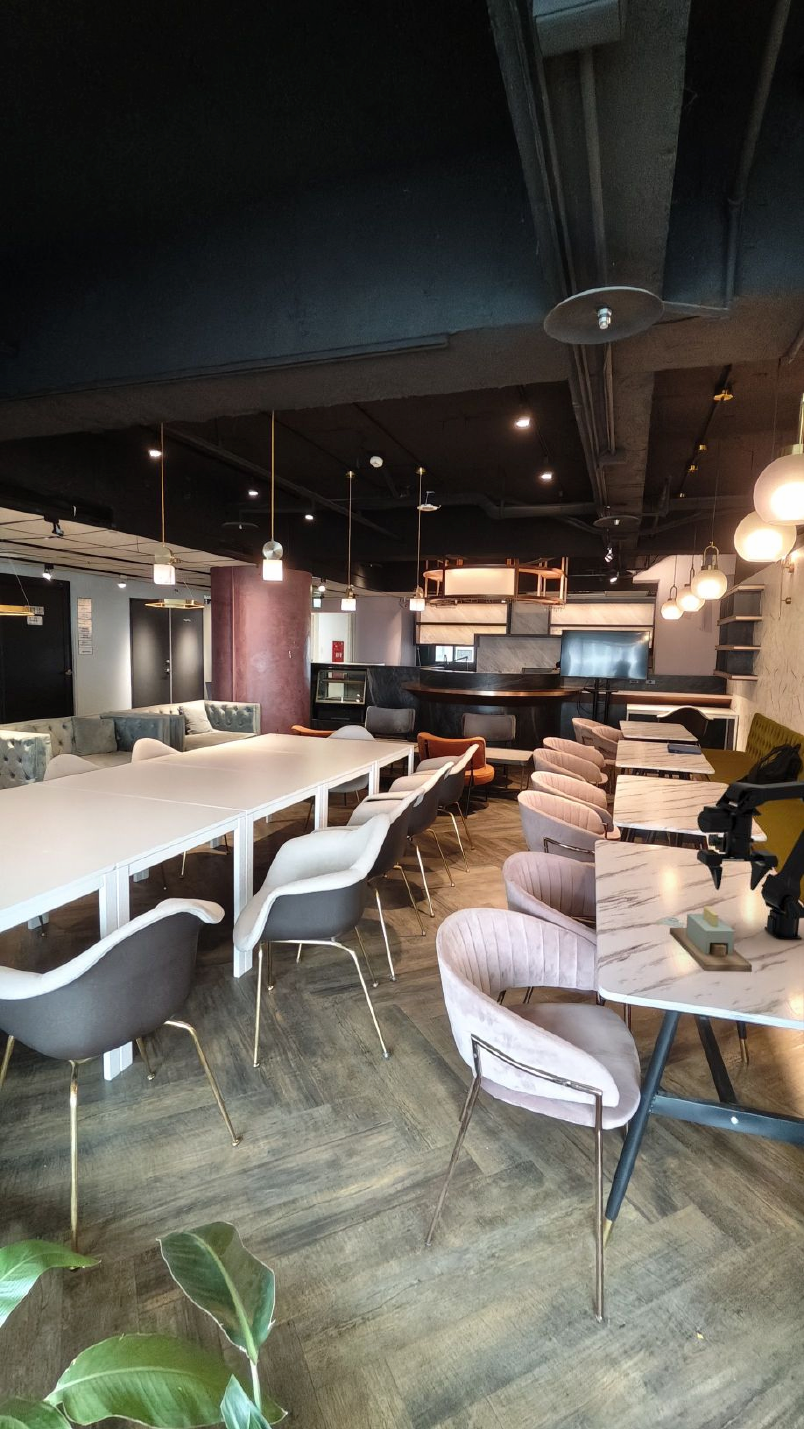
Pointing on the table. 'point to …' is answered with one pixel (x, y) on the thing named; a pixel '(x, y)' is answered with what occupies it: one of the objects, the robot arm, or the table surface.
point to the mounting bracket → (672, 922)
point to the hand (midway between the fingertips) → (734, 889)
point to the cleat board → (712, 954)
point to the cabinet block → (709, 931)
